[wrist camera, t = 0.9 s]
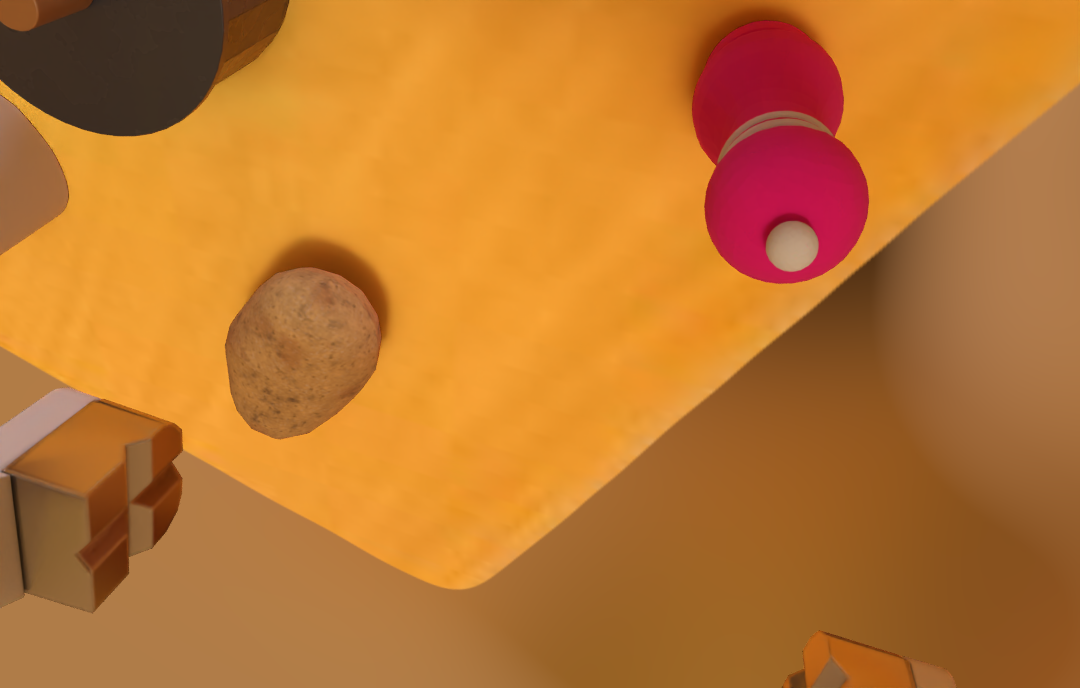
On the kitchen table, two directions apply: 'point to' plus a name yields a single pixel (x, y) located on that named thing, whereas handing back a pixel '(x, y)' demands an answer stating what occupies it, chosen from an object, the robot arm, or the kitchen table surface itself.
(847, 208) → the pepper mill
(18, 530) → the robot arm
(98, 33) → the pot lid
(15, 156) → the lumpy-topped squat cylinder
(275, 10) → the pot
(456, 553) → the kitchen table surface
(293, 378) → the potato
